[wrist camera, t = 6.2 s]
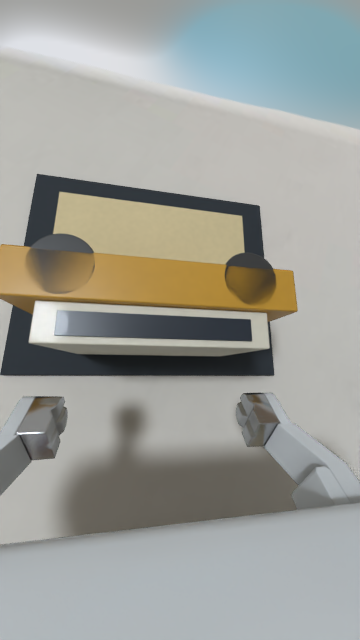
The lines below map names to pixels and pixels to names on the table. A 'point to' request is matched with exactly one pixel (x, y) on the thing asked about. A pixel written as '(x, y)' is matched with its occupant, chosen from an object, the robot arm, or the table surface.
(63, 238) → the toy car
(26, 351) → the play mat
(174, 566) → the robot arm
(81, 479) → the table surface
